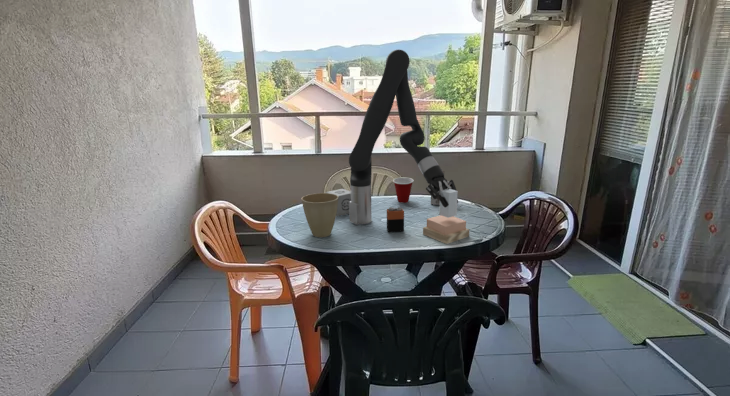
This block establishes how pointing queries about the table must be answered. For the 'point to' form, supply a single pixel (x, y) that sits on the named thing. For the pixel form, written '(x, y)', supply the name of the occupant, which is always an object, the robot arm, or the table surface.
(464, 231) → the birch slab
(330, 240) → the table surface
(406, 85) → the robot arm
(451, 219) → the terracotta slab
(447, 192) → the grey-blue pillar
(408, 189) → the plastic cup
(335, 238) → the table surface
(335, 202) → the plant pot
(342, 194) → the icon cube
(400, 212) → the battery
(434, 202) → the coffee box
